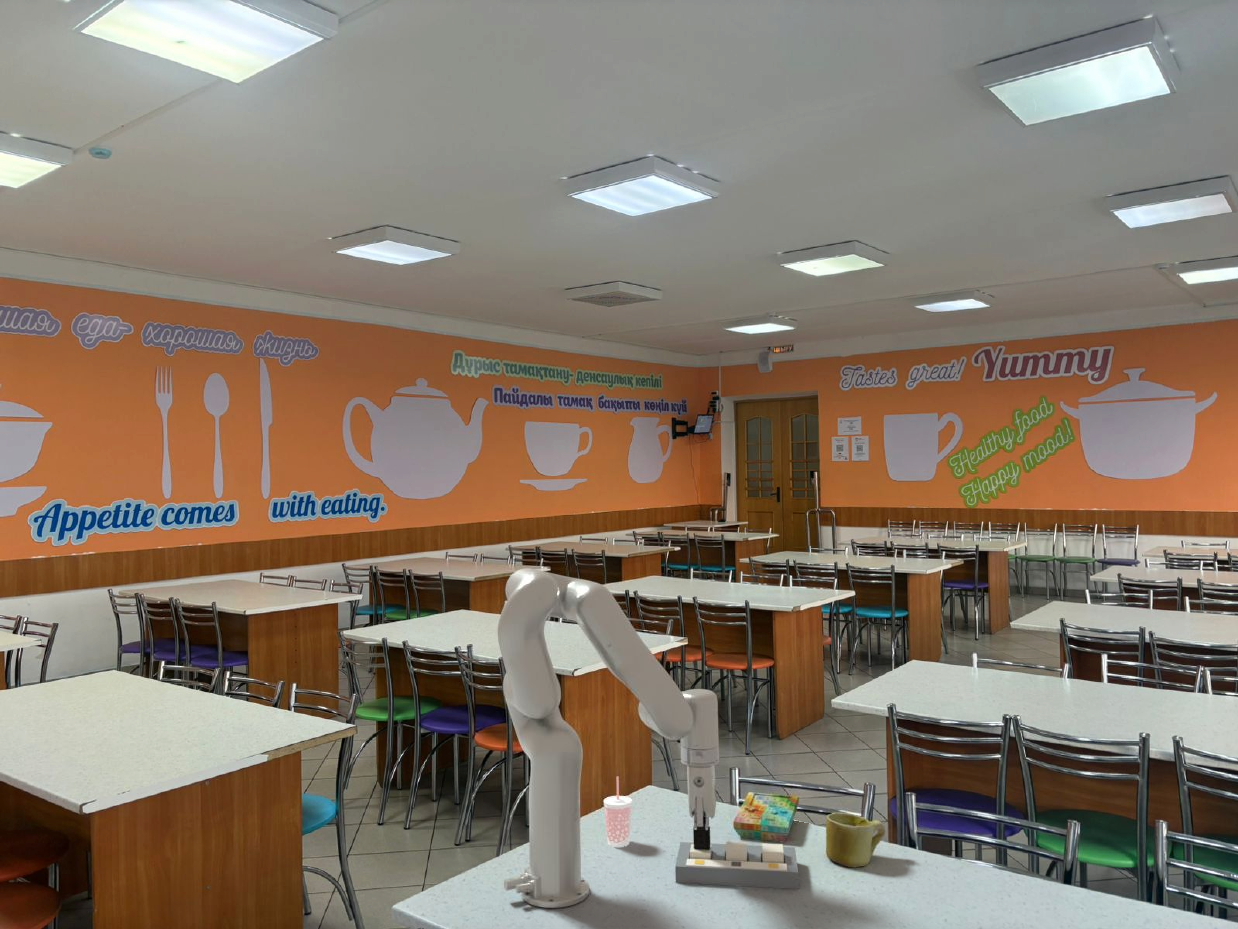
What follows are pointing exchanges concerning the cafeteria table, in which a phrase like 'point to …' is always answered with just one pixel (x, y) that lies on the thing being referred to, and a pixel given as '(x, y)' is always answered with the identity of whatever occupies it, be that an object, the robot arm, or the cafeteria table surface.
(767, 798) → the puzzle game
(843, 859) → the mug
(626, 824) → the beverage cup
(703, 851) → the button left
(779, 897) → the cafeteria table surface
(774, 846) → the button right
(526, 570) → the robot arm
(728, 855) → the button middle
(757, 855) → the button board
